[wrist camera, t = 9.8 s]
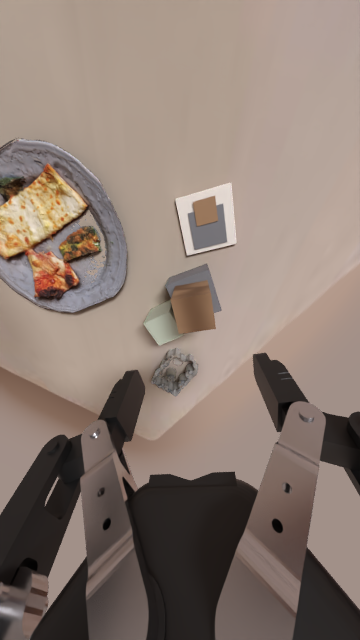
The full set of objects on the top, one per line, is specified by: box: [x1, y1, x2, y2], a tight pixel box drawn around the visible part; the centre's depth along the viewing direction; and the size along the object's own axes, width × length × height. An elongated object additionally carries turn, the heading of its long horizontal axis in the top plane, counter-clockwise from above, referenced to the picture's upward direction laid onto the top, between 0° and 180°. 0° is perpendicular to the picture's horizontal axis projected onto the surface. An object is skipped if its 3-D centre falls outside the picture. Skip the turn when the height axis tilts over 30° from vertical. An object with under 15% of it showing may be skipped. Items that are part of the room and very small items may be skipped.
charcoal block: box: [165, 264, 222, 313], centre depth 30 cm, size 7×7×5 cm
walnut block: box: [171, 280, 216, 334], centre depth 25 cm, size 5×5×6 cm
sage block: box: [144, 300, 184, 346], centre depth 32 cm, size 5×5×6 cm
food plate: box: [0, 137, 127, 313], centre depth 29 cm, size 25×23×4 cm
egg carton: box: [151, 348, 198, 396], centre depth 40 cm, size 11×8×4 cm
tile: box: [175, 183, 237, 255], centre depth 27 cm, size 8×8×1 cm
